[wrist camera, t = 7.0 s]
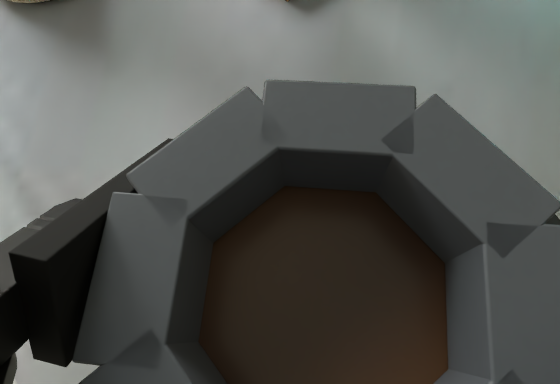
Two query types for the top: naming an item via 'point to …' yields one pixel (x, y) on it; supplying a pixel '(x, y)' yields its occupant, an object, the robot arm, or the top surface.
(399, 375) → the stand
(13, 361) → the robot arm
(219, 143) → the gray octagonal ring
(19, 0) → the stacking toy
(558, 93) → the top surface
